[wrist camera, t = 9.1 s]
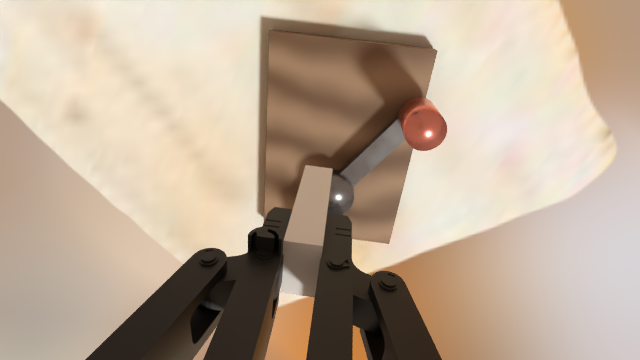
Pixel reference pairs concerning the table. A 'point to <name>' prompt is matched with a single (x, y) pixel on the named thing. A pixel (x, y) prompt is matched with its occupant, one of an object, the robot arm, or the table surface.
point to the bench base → (339, 118)
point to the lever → (388, 148)
